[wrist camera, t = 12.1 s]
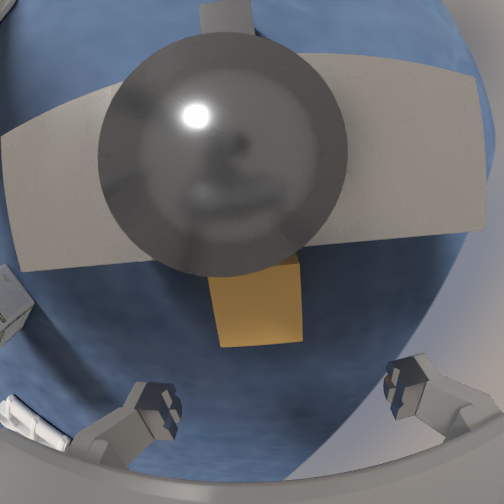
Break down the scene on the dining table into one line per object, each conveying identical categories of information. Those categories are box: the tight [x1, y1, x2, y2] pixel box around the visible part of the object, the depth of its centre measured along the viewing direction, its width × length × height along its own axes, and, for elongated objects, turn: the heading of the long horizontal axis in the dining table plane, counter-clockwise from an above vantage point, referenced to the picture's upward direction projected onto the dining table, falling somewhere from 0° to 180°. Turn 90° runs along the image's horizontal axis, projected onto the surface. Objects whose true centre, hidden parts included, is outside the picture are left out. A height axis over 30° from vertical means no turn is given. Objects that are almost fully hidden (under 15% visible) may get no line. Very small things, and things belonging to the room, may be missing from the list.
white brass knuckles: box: [0, 394, 70, 453], centre depth 29 cm, size 3×18×15 cm
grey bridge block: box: [1, 32, 486, 277], centre depth 12 cm, size 6×19×13 cm, turn 96°
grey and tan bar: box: [199, 0, 303, 347], centre depth 16 cm, size 21×5×5 cm, turn 6°
